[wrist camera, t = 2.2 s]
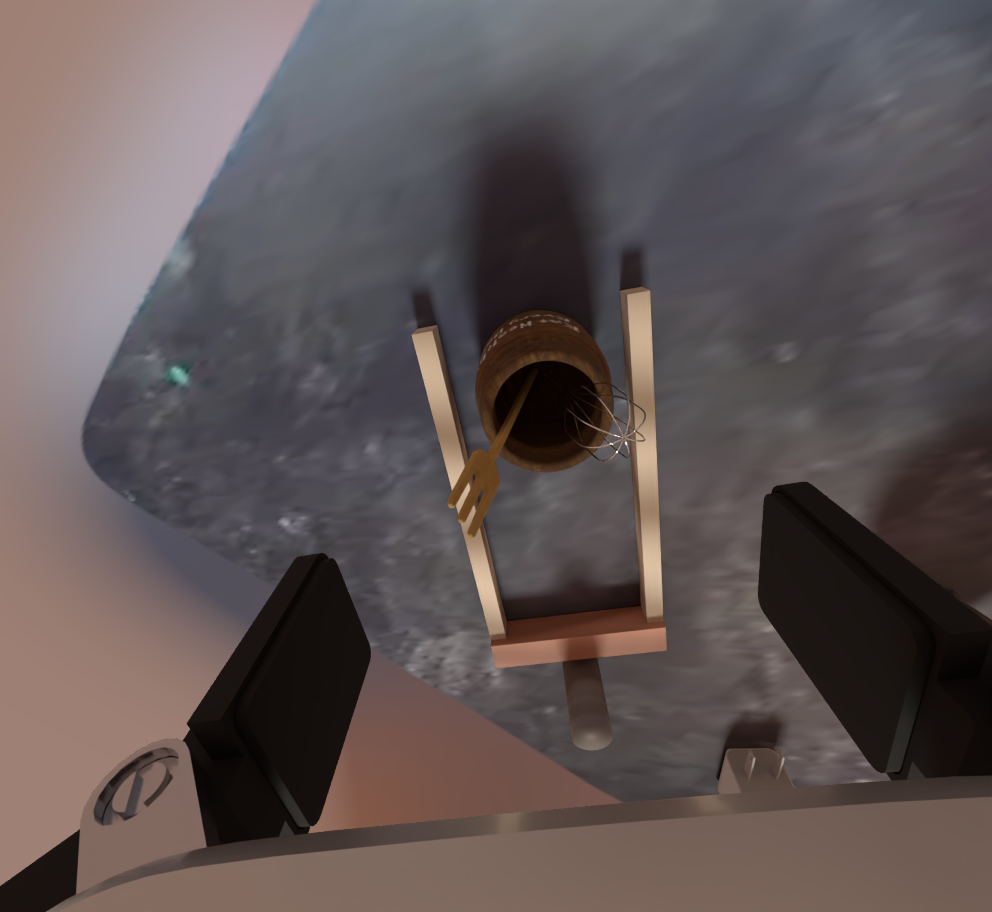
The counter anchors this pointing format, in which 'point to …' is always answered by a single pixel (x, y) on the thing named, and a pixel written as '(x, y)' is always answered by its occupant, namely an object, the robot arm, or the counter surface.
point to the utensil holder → (538, 404)
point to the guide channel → (640, 625)
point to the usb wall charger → (753, 771)
